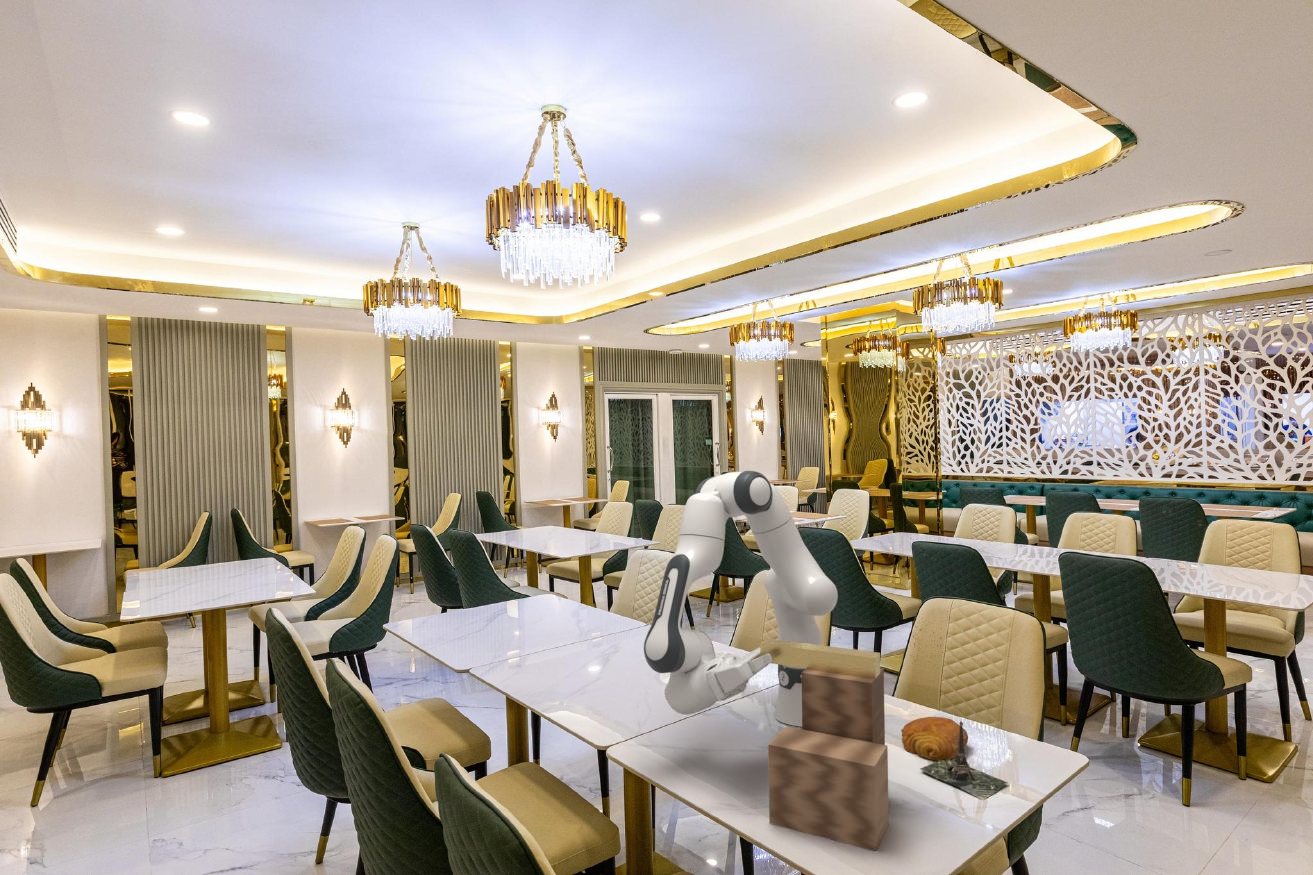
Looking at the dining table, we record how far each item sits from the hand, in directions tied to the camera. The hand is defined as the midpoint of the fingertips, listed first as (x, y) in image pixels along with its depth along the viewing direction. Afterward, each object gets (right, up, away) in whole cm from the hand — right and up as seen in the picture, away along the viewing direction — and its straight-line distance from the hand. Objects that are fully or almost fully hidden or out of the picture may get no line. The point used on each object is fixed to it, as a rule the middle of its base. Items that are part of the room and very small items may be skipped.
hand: (779, 650), depth 156 cm
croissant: (+39, -28, +17) cm, 51 cm away
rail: (+7, -2, -4) cm, 9 cm away
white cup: (-6, -29, +59) cm, 66 cm away
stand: (+9, -28, -11) cm, 32 cm away
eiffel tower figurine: (+39, -28, +1) cm, 48 cm away
